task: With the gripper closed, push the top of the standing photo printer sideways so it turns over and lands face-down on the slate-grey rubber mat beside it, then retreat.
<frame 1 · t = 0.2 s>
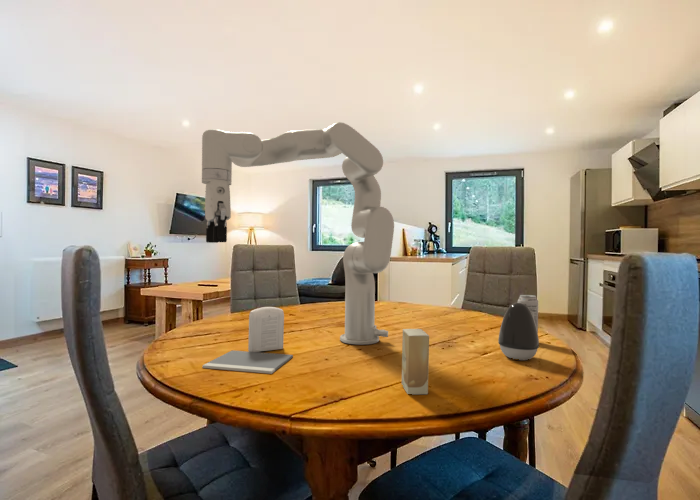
hand: (216, 242, 101), 31 cm above the table, tool pointing down, fingers open, 9 cm apart
skincare box: (414, 390, 80), on the table
energy drink can: (527, 342, 122), on the table
mat: (250, 362, 97), on the table
grey egg shaped device: (518, 358, 104), on the table
photo printer: (266, 350, 109), on the table
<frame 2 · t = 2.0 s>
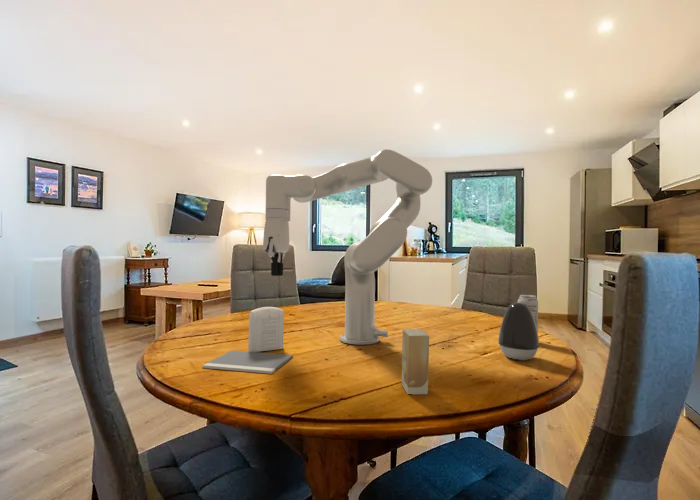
hand: (277, 275, 116), 21 cm above the table, tool pointing down, fingers closed
nothing on the table moved.
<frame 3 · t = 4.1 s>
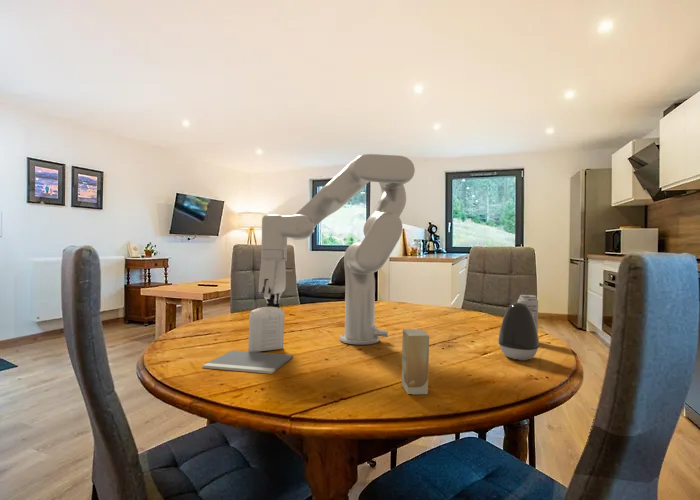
hand: (273, 316, 114), 9 cm above the table, tool pointing down, fingers closed
nothing on the table moved.
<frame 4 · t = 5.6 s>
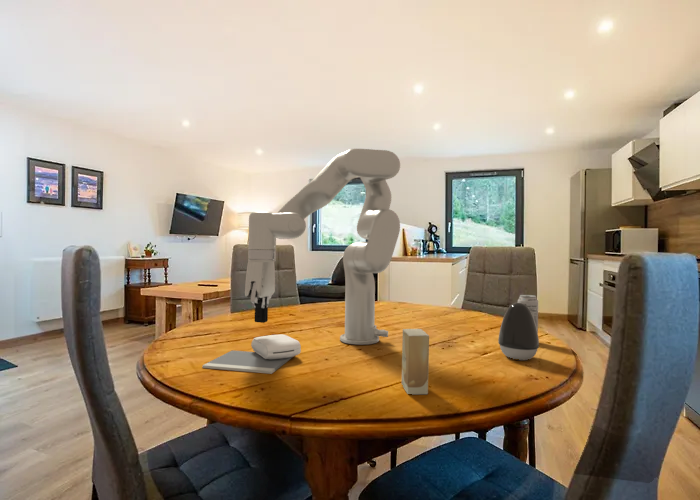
hand: (261, 321, 106), 9 cm above the table, tool pointing down, fingers closed
photo printer: (268, 341, 108), point 3 cm above the table, touching mat
everything else where it was.
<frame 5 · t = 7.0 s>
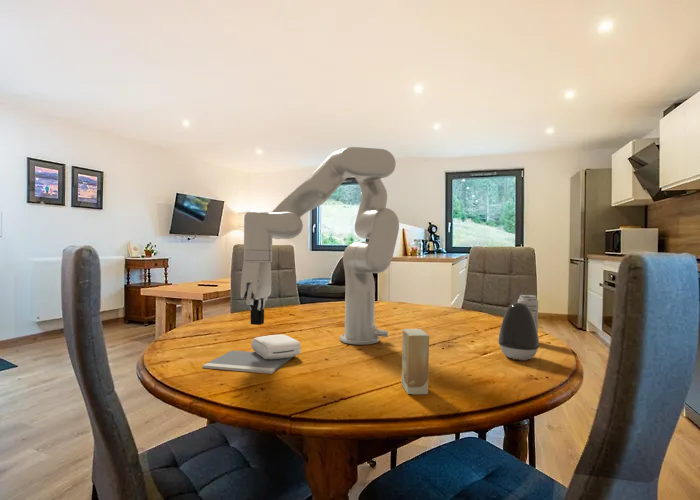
hand: (257, 324, 103), 9 cm above the table, tool pointing down, fingers closed
nothing on the table moved.
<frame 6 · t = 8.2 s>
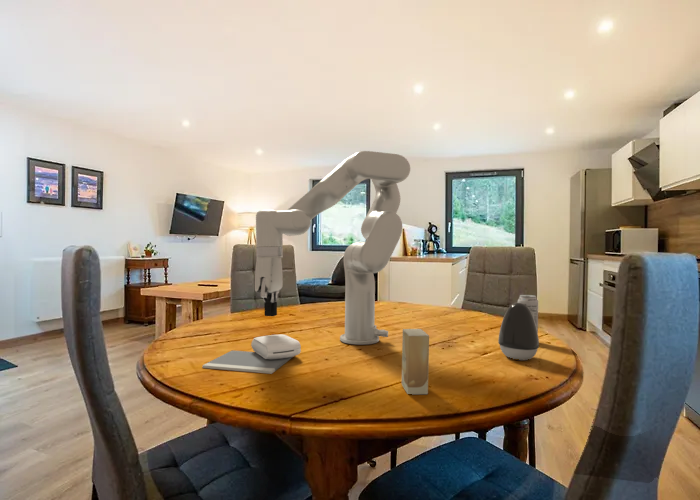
hand: (270, 315, 110), 10 cm above the table, tool pointing down, fingers closed
nothing on the table moved.
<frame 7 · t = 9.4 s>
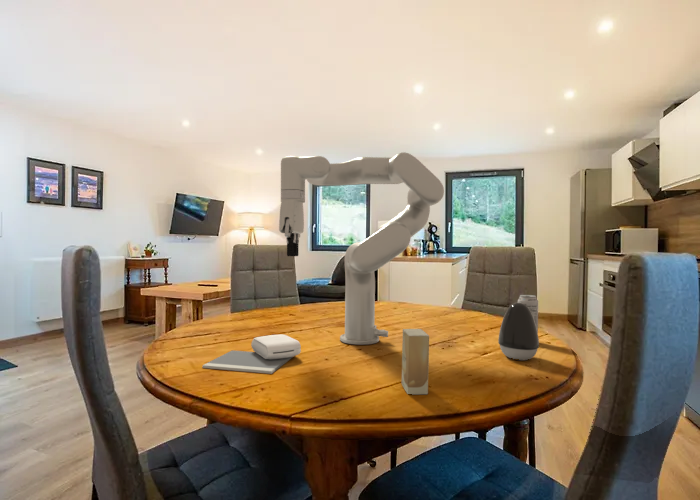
hand: (292, 256, 118), 27 cm above the table, tool pointing down, fingers closed
nothing on the table moved.
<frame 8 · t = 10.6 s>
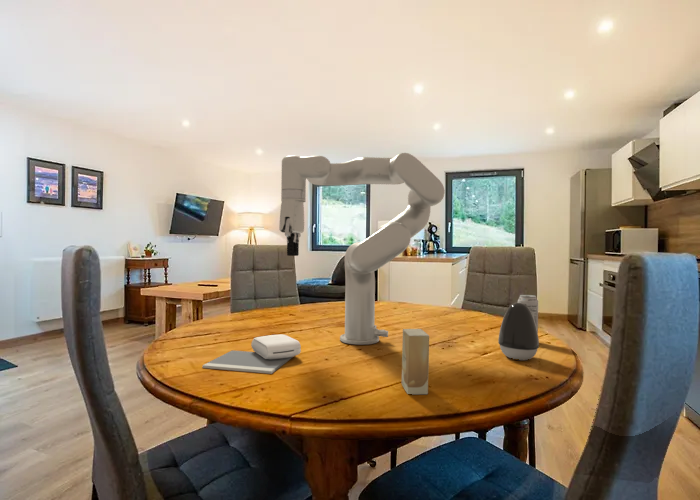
hand: (292, 255, 118), 27 cm above the table, tool pointing down, fingers closed
nothing on the table moved.
at the end: photo printer tilted 90°; photo printer inside the target area (8.9 cm from its centre), point 2.7 cm above the table; the gripper is holding nothing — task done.
